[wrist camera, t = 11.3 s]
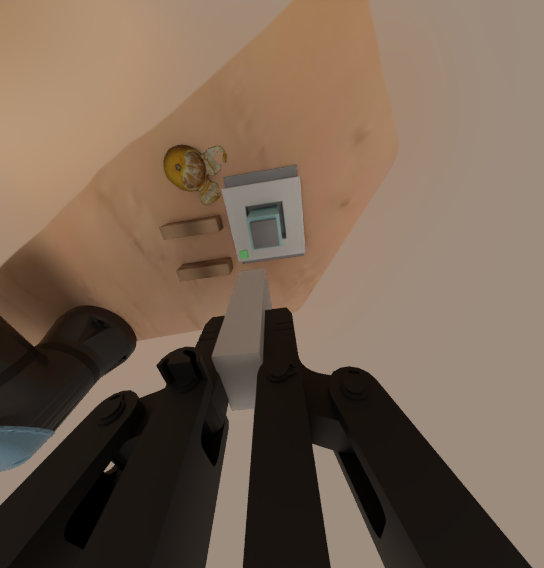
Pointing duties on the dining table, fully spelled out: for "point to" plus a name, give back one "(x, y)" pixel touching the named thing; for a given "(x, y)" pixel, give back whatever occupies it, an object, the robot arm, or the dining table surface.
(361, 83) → the dining table surface
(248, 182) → the port
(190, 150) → the fruit
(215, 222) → the pair of wooden rails
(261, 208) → the plug
